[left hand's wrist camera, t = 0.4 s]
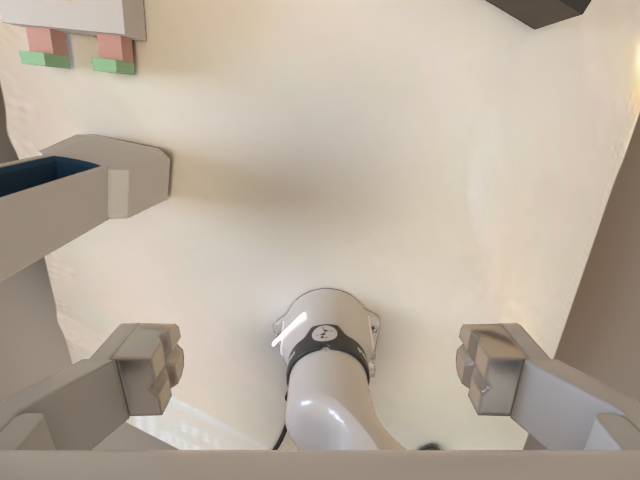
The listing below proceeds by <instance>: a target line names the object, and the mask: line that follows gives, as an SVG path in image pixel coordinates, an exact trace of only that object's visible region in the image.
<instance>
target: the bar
mask: <svg viewBox="0 0 640 480" xmlns="http://www.w3.org/2000/svg"><path fill="white" fill-rule="evenodd" d="M486 1H488V2H490V3H491V4H493V5H495V6H496V7H498V8H500V9H501V10H503V11H505V12H507V13H508V14H510V15H512V16H513V17H515V18H517V19H518V20H520V21H522V22H523V23H525V24H527V25H528V26H530V27H532V28H533V29H537V28H541V27H544V26H547V25H550V24H553V23H556V22H559V21H563V20H566V19H569V18H572V17H575V16H578V15H582V14H583V13H584V11H585V9H586V8H587V6H588V5H589V3H590V2H591V0H486Z"/></svg>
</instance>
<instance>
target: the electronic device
mask: <svg viewBox="0 0 640 480" xmlns="http://www.w3.org/2000/svg"><path fill="white" fill-rule="evenodd" d="M169 172H170V159H169V158H168V156H167V155H166V154H165V153H164V152H163V151H161V150H160V149H159V148H154V147H149V146H145V145H140V144H136V143H131V142H126V141H122V140H117V139H112V138H108V137H103V136H99V135H74V136H72V137H70V138H68V139H65V140H63V141H61V142H59V143H56V144H54V145H52V146H50V147H47V148H45V149H43V150H41V151H39V156H36V157H31V158H26V159H22V160H17V161H12V162H7V163H2V164H0V282H1V281H3V280H4V279H6V278H8V277H10V276H11V275H13V274H15V273H17V272H18V271H20V270H22V269H23V268H25V267H27V266H29V265H30V264H32V263H34V262H36V261H37V260H39V259H41V258H43V257H44V256H46V255H48V254H50V253H51V252H53V251H55V250H56V249H58V248H60V247H62V246H63V245H65V244H67V243H69V242H70V241H72V240H74V239H76V238H77V237H79V236H81V235H82V234H84V233H86V232H88V231H89V230H91V229H93V228H95V227H96V226H98V225H100V224H101V223H103V222H105V221H107V220H108V219H121V218H129V217H131V216H133V215H135V214H137V213H140V212H142V211H144V210H146V209H148V208H150V207H152V206H154V205H156V204H158V203H160V202H162V201H164V200H166V199H168V186H169Z"/></svg>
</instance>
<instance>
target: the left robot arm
mask: <svg viewBox="0 0 640 480" xmlns="http://www.w3.org/2000/svg"><path fill="white" fill-rule="evenodd" d="M372 326H373V327H374V328H371V327H372ZM379 327H380V318H379V317H378V316H377V315H376V314H374V313H372V312H370V311H368V310H366V309H365V308H364V307H363V306H362V305H361V304H360V303H359V302H358V301H357V300H356V299H355V298H354V297H353V296H351V295H349V294H347V293H345V292H343V291H340V290H335V289H319V290H314V291H311V292H308V293H306V294H304V295H303V296H301V297H300V298H298V299H297V300H296V301H295V302H294V303H293V305H292V306H291V307H290V309H289V311H288V312H287V314H286V315H285V316H284V317H282V318H281V319H279V320H278V321H277V322H276V323H275V324H274V333H275V336H276V339H275V340H274V341H273V343H272V346H274V345H275V344H276V343H277V342H278V343H279V346H280V355H281V356H283V358H284V361H285V363H286V365H287V370H286V376H287V385H288V392H287V393H286V395H285V400H286V401H287V405H286V414H285V423H286V424H285V426H284V429H283V431H282V434H281V436H280V438H279V440H278V442H277V444H276V446H275V447H274V449H273V450H92V449H93V448H94V447H95V446H96V445H97V444H99V443H100V442H101V441H102V440H103V439H105V438H106V437H107V436H108V435H109V434H111V433H112V432H113V431H114V430H115V429H117V428H118V427H119V426H120V425H121V424H123V423H124V422H125V421H126V420H127V419H129V416H149V415H162V414H163V412H164V410H165V408H166V406H167V404H168V402H169V400H170V398H171V396H172V394H171V388H172V387H174V386H175V385H176V384H178V382H179V380H180V378H181V376H182V372H183V367H184V354H183V349H182V348H181V347H180V346H179V345H178V344H177V342H178V341H179V339H180V337H181V335H180V331H179V327H178V326H177V325H176V324H154V323H141V324H140V323H124V324H120V325H119V326H118V327H117V329H116V330H115V331H114V332H113V333H112V334H111V335H110V336H109V338H108V339H107V340H106V341H105V342H104V343H103V344H102V345H101V346H100V348H99V349H98V350H97V351H96V352H95V353H94V354H93V355H92V357H91V358H90V359H83V360H81V361H79V362H77V363H75V364H73V365H71V366H69V367H67V368H65V369H63V370H61V371H59V372H57V373H55V374H53V375H51V376H49V377H47V378H45V379H43V380H41V381H39V382H37V383H35V384H33V385H31V386H29V387H27V388H25V389H23V390H21V391H19V392H17V393H15V394H13V395H11V396H8V397H7V398H4V399H2V400H0V480H640V401H639V400H637V399H635V398H633V397H631V396H629V395H627V394H625V393H623V392H621V391H619V390H617V389H615V388H613V387H611V386H609V385H607V384H605V383H603V382H601V381H599V380H597V379H595V378H593V377H591V376H589V375H587V374H585V373H583V372H581V371H579V370H577V369H575V368H573V367H571V366H569V365H567V364H565V363H563V362H561V361H559V360H557V359H550V358H549V357H548V355H547V354H546V353H545V352H544V351H543V350H542V349H541V348H540V346H539V345H538V344H537V343H536V342H535V341H534V340H533V339H532V338H531V336H530V335H529V334H528V333H527V332H526V331H525V330H524V329H523V327H522V326H521V325H519V324H517V323H499V324H463V325H462V327H461V330H460V335H459V337H460V339H461V341H462V342H463V344H462V345H461V346H460V347H459V348H458V349H457V354H456V367H457V372H458V376H459V378H460V380H461V382H462V384H464V385H465V386H466V387H468V388H469V394H468V396H469V398H470V400H471V402H472V404H473V406H474V408H475V410H476V412H477V414H478V415H491V416H511V417H510V418H512V419H513V420H514V421H515V422H516V423H518V424H519V425H520V426H521V427H522V428H523V429H525V430H526V431H527V432H528V433H529V434H531V435H532V436H533V437H534V438H535V439H537V440H538V441H539V442H540V443H541V444H543V445H544V446H545V447H546V448H547V449H549V450H406V449H405V448H404V447H403V446H402V445H400V444H399V443H398V442H397V441H396V440H395V439H394V438H393V437H392V436H391V435H390V434H389V433H388V432H387V430H386V429H385V428H384V427H383V425H382V424H381V422H380V421H379V419H378V417H377V415H376V413H375V410H374V407H373V403H372V399H371V395H370V391H369V386H368V385H369V379H370V377H374V376H375V364H374V363H372V362H373V360H375V347H376V342H377V337H378V332H379ZM280 333H282V334H280ZM287 431H288V434H289V436H290V438H291V439H292V441H293V442H294V444H295V445H296V446H297V447H298V449H299V450H278V448H279V446H280V445H281V443H282V441H283V439H284V436H285V434H286V432H287Z"/></svg>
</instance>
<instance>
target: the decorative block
mask: <svg viewBox="0 0 640 480" xmlns="http://www.w3.org/2000/svg"><path fill="white" fill-rule="evenodd" d="M0 16H1V21H2V22H3V23H8V24H12V25H16V26H20V27H25V28H26V31H27V37H28V42H29V48H30V51H20V50H19V52H20V57H21V62H22V64H30V65H39V66H48V67H58V68H69V69H70V66H69V59H68V52H67V45H66V38H65V33H68V34H78V35H88V36H97V38H98V47H99V56H100V58H92V65H93V70H94V71H102V72H110V73H120V74H131V75H135V72H134V61H133V49H132V40H138V41H146V30H145V16H144V3H143V0H0Z"/></svg>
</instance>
